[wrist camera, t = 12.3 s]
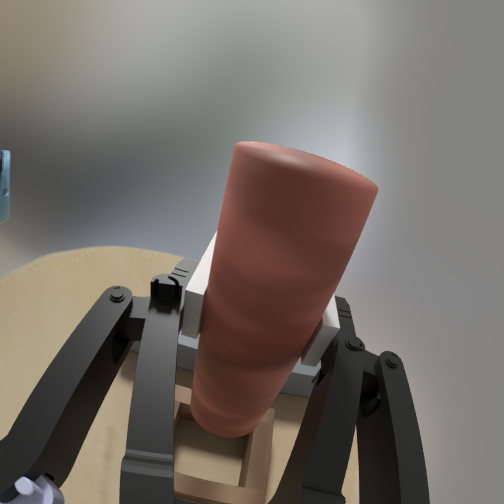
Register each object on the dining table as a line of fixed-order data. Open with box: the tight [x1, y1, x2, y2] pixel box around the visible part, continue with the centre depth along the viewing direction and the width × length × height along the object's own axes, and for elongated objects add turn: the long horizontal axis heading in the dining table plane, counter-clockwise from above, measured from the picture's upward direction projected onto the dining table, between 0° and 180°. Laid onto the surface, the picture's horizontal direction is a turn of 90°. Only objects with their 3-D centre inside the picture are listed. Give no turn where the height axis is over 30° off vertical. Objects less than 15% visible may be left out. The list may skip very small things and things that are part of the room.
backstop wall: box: [130, 331, 321, 397], centre depth 33 cm, size 26×2×5 cm, turn 83°
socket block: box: [174, 384, 275, 504], centre depth 23 cm, size 12×12×4 cm
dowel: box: [190, 142, 378, 438], centre depth 13 cm, size 5×5×16 cm
